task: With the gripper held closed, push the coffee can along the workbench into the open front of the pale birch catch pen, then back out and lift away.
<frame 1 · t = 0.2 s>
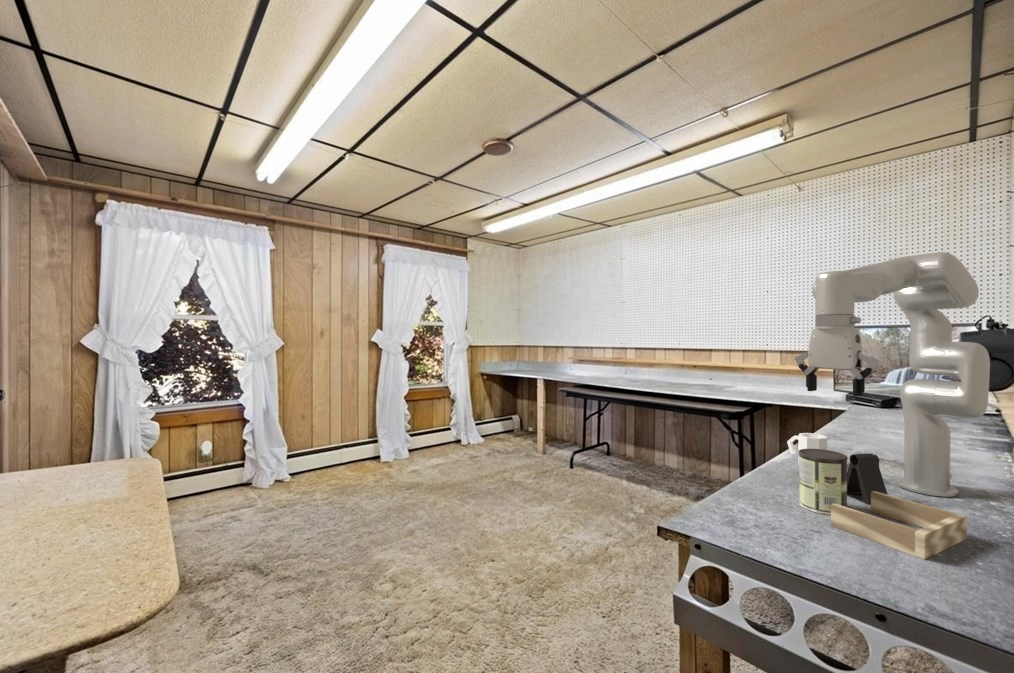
hand: (834, 393, 106), 31 cm above the table, tool pointing down, fingers open, 9 cm apart
coffee can: (822, 508, 113), on the table
mug: (806, 463, 150), on the table
ball valve: (822, 484, 131), on the table
catch pen: (893, 531, 99), on the table
phone stand: (864, 498, 119), on the table
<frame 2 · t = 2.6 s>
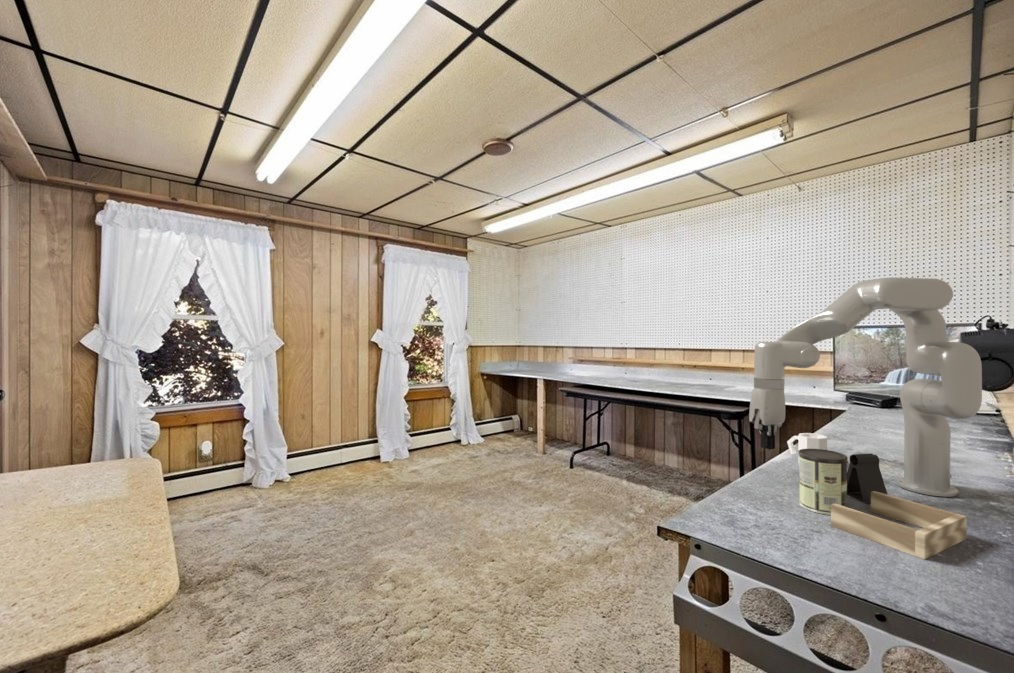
hand: (767, 448, 125), 12 cm above the table, tool pointing down, fingers closed
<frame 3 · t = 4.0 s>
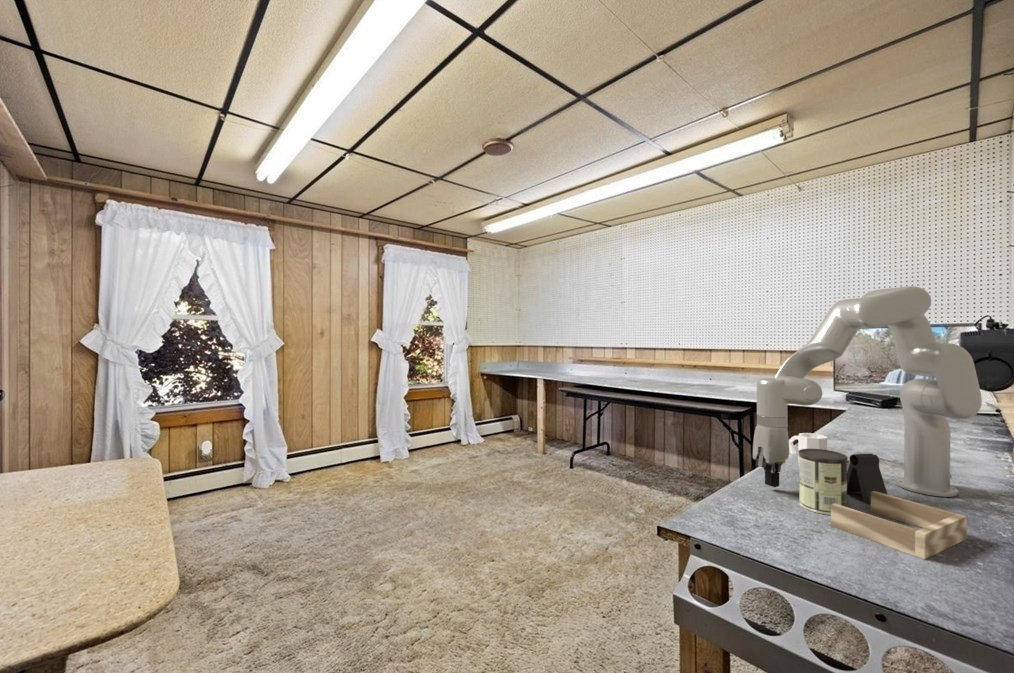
hand: (772, 485, 125), 2 cm above the table, tool pointing down, fingers closed
nothing on the table moved.
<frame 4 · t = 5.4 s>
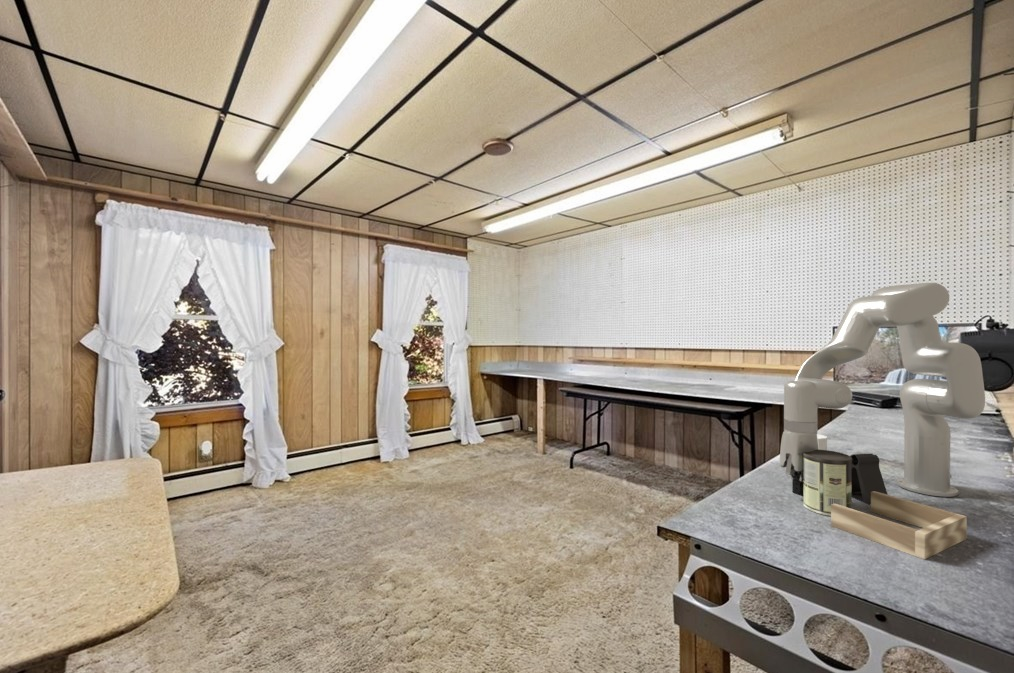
hand: (800, 494, 118), 2 cm above the table, tool pointing down, fingers closed
coffee can: (826, 509, 112), on the table, touching gripper
everything else where it was.
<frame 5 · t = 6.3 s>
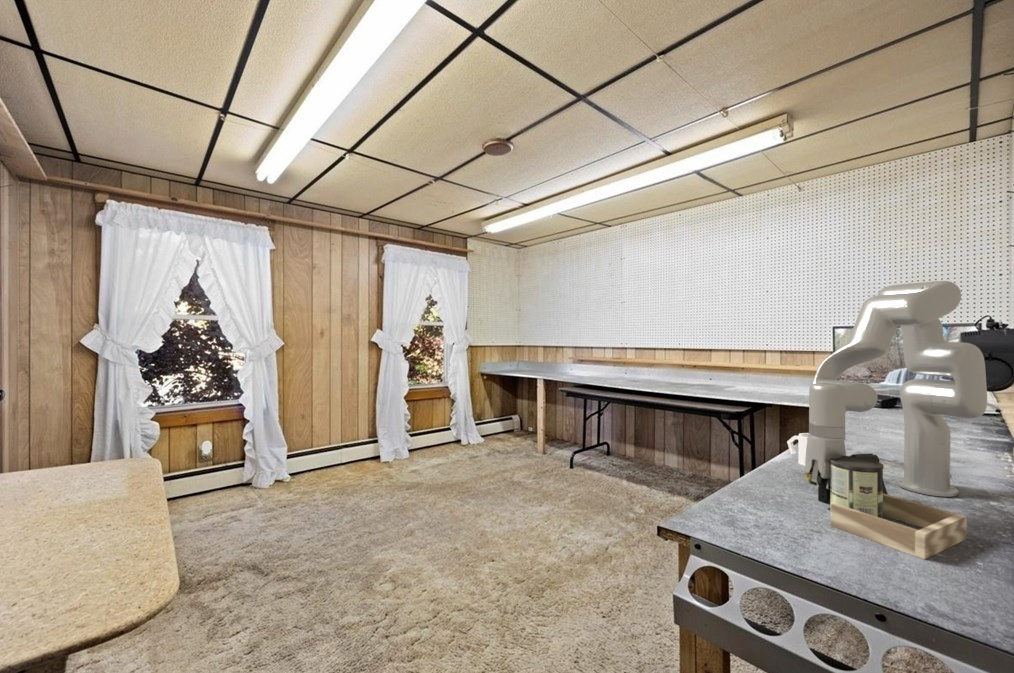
hand: (826, 502, 112), 2 cm above the table, tool pointing down, fingers closed
coffee can: (855, 519, 106), on the table, touching gripper
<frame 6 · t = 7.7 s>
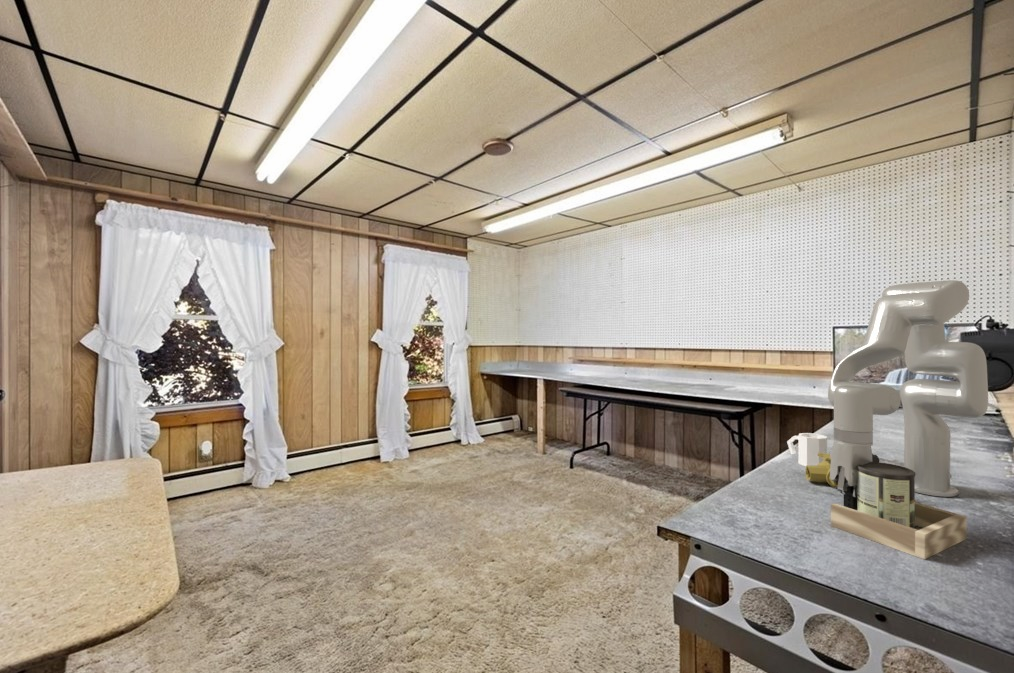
hand: (852, 510, 107), 2 cm above the table, tool pointing down, fingers closed
coffee can: (884, 529, 101), on the table, touching gripper
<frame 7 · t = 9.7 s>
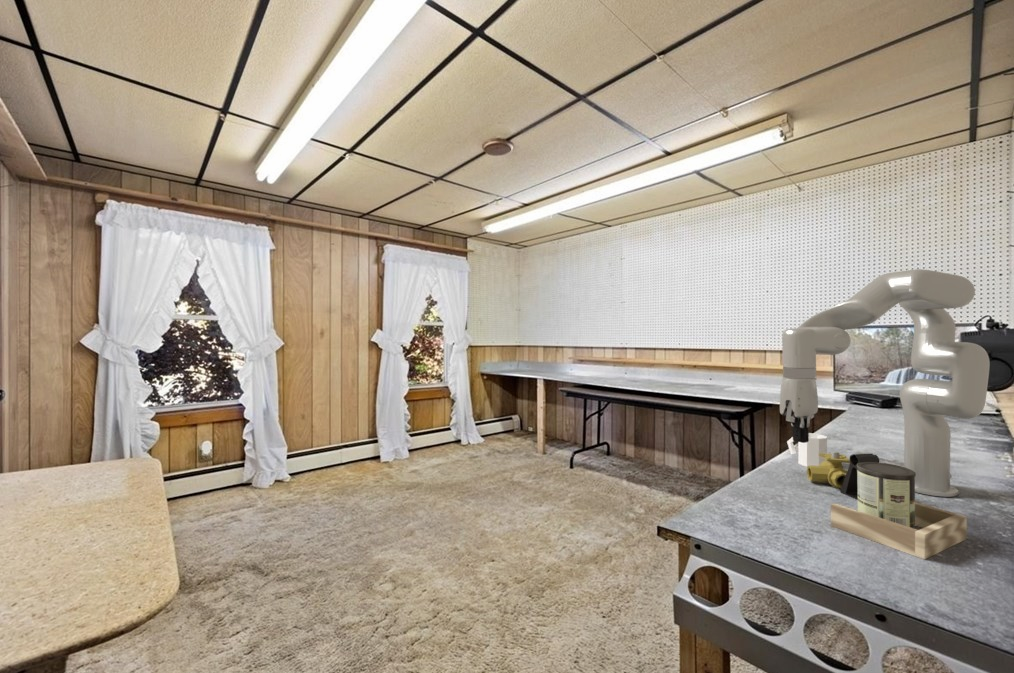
hand: (800, 441, 118), 16 cm above the table, tool pointing down, fingers closed
coffee can: (885, 529, 101), on the table
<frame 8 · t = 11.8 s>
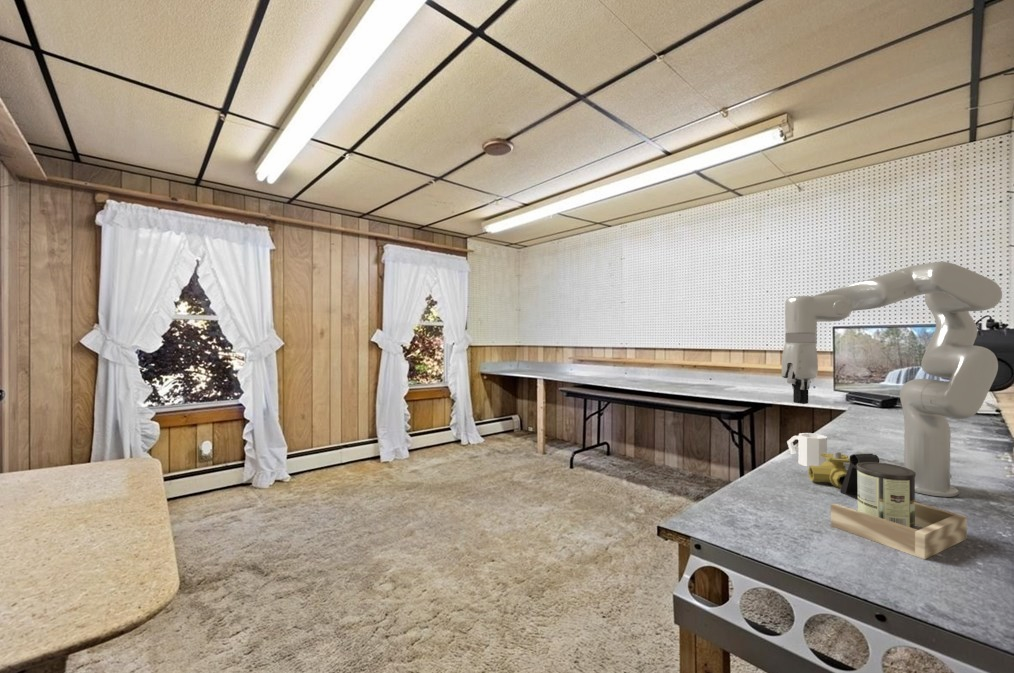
hand: (800, 403, 125), 25 cm above the table, tool pointing down, fingers closed
at the end: coffee can inside the target area (2.1 cm from its centre), on the table; coffee can tilted 0° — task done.
